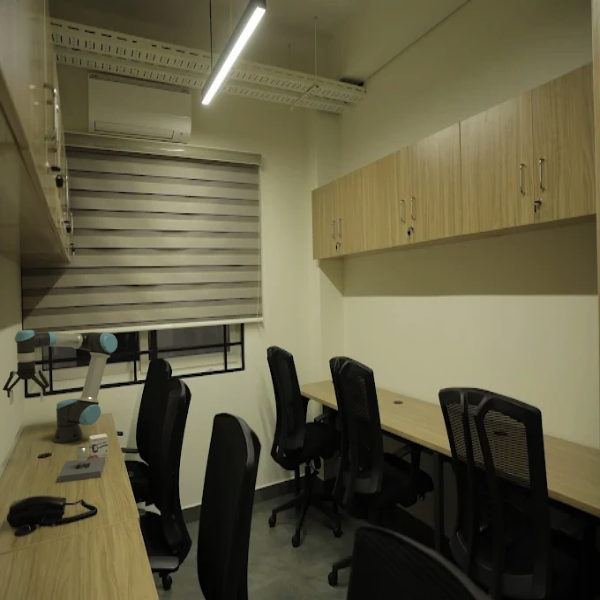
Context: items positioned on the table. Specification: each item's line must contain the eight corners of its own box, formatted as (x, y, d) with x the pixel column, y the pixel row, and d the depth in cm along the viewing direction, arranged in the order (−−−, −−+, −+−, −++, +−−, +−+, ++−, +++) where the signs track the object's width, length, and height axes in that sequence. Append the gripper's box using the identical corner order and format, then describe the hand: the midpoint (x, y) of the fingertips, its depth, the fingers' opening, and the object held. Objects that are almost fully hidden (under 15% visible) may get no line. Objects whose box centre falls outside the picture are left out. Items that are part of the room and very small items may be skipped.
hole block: (66, 467, 219) (66, 461, 219) (105, 462, 225) (105, 456, 224) (58, 482, 202) (58, 476, 202) (100, 477, 207) (100, 471, 207)
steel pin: (79, 471, 215) (78, 446, 214) (88, 470, 216) (87, 445, 215) (77, 474, 211) (77, 449, 210) (86, 473, 212) (86, 448, 212)
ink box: (90, 461, 227) (90, 438, 226) (89, 458, 231) (88, 436, 230) (108, 457, 231) (108, 435, 231) (106, 454, 235) (106, 433, 235)
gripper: (55, 358, 228) (56, 398, 229) (0, 361, 221) (1, 402, 221) (52, 360, 221) (53, 402, 222) (-6, 363, 214) (-5, 406, 214)
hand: (27, 402), depth 222 cm, fingers open, 13 cm apart
